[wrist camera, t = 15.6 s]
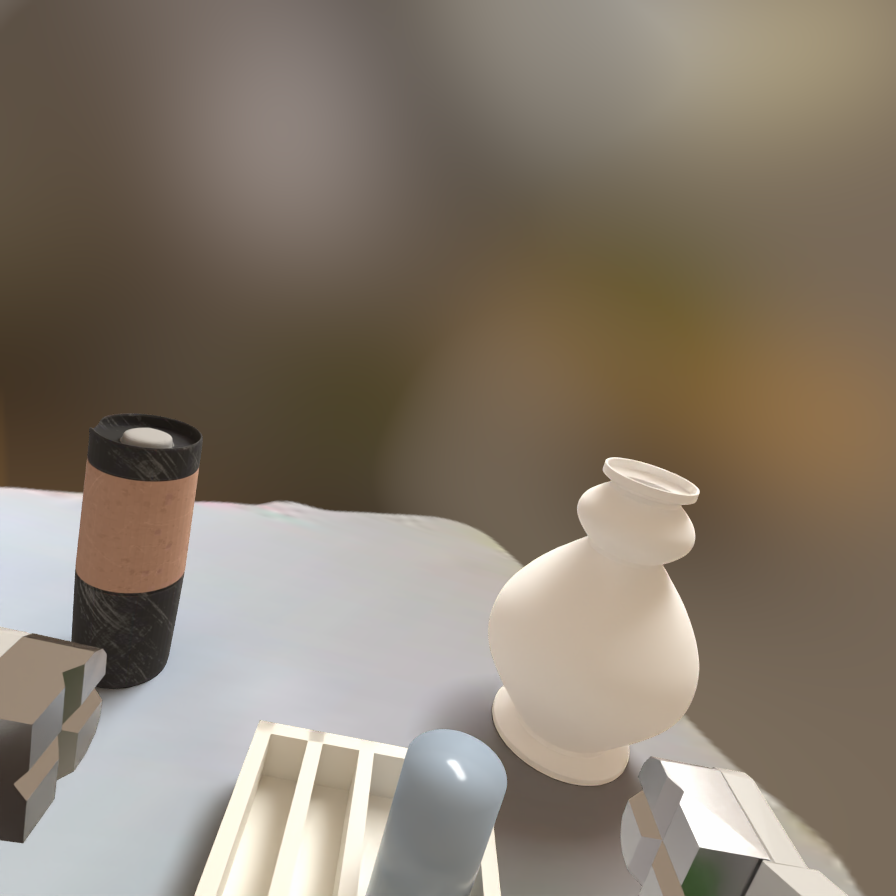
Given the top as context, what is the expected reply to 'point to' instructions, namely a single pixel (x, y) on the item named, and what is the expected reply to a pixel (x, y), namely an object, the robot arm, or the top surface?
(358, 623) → the top surface
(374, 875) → the grey cylinder
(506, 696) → the decorative vase
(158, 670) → the travel mug
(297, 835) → the compartment tray
